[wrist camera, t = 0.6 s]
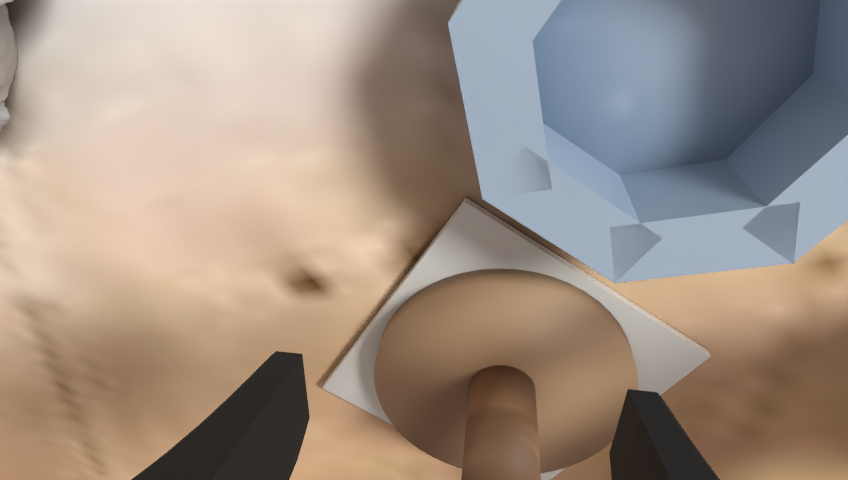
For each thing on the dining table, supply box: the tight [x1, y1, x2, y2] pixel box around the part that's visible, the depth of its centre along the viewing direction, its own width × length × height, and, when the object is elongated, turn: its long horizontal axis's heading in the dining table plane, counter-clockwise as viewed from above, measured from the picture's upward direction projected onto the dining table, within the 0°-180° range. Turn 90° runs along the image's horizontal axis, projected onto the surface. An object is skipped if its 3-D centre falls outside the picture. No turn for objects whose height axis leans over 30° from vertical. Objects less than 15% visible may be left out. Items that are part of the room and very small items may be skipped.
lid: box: [374, 268, 638, 480], centre depth 22 cm, size 11×11×6 cm
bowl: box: [448, 0, 848, 283], centre depth 16 cm, size 12×12×4 cm
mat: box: [322, 198, 711, 480], centre depth 25 cm, size 12×12×1 cm
